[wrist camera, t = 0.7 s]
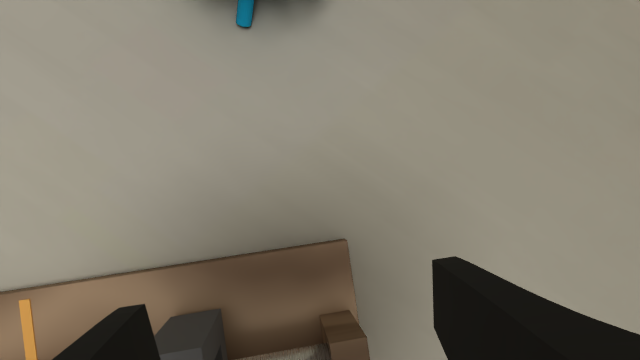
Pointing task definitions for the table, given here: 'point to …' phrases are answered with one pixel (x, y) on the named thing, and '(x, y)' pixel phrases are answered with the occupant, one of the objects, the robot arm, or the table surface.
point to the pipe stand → (206, 305)
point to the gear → (244, 12)
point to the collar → (192, 337)
